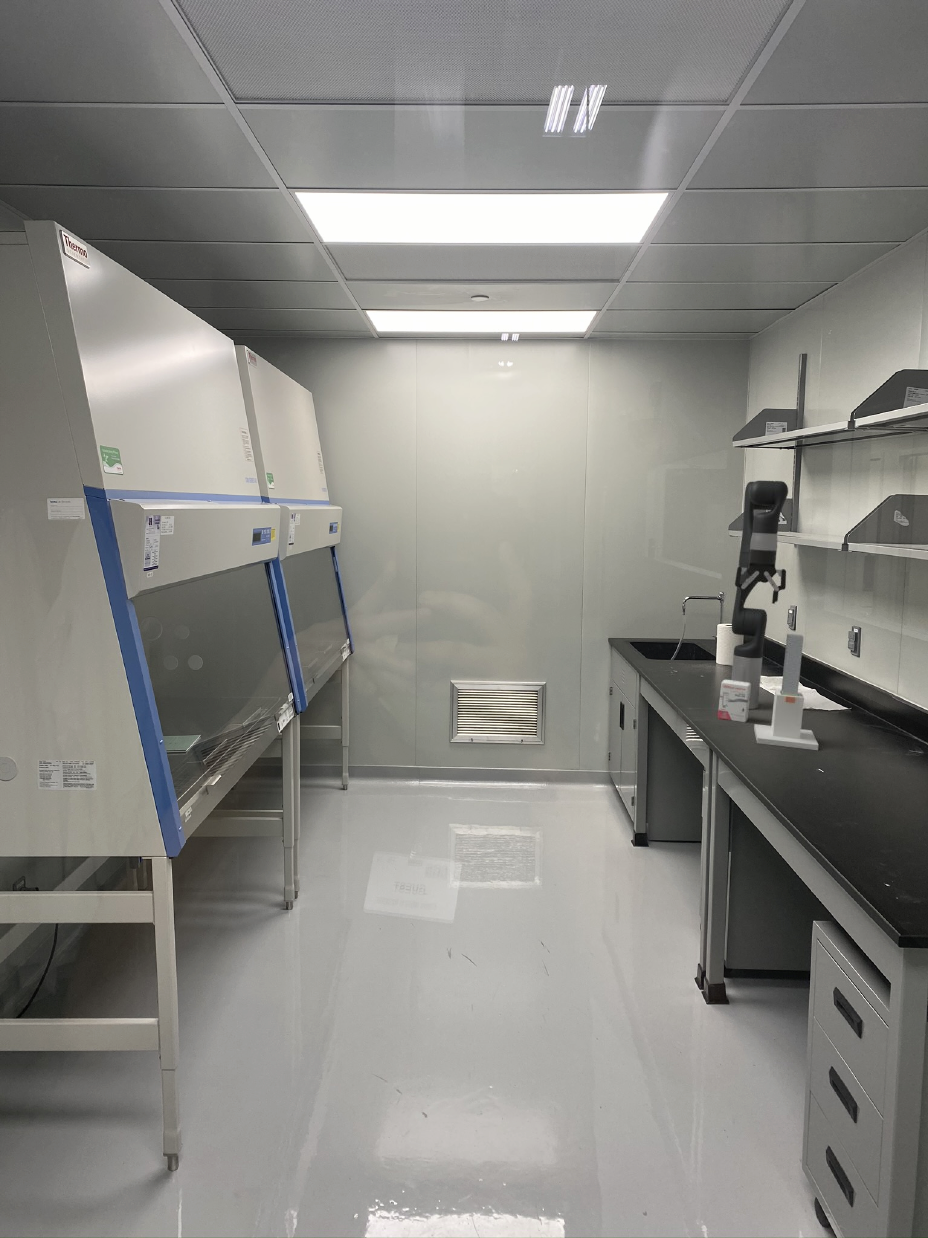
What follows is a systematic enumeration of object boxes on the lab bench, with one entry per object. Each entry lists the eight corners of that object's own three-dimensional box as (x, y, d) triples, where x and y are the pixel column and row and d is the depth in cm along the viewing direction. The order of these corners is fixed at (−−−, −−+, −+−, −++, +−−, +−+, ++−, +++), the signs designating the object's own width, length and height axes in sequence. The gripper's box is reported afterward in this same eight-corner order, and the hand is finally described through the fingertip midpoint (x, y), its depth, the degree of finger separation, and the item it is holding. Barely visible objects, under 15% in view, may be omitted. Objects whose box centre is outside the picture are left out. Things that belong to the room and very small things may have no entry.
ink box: (716, 718, 256) (720, 681, 255) (719, 715, 261) (723, 679, 259) (745, 722, 252) (748, 685, 251) (747, 719, 257) (751, 682, 255)
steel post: (779, 708, 237) (786, 633, 234) (794, 709, 236) (802, 635, 232) (780, 711, 233) (788, 635, 230) (796, 713, 232) (803, 637, 228)
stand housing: (754, 729, 245) (758, 685, 243) (811, 735, 241) (815, 691, 239) (757, 743, 230) (761, 696, 228) (817, 750, 226) (823, 703, 224)
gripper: (787, 549, 243) (782, 602, 246) (737, 546, 247) (733, 599, 250) (790, 550, 236) (784, 605, 239) (738, 547, 240) (733, 602, 243)
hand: (758, 602), depth 244 cm, fingers open, 8 cm apart
